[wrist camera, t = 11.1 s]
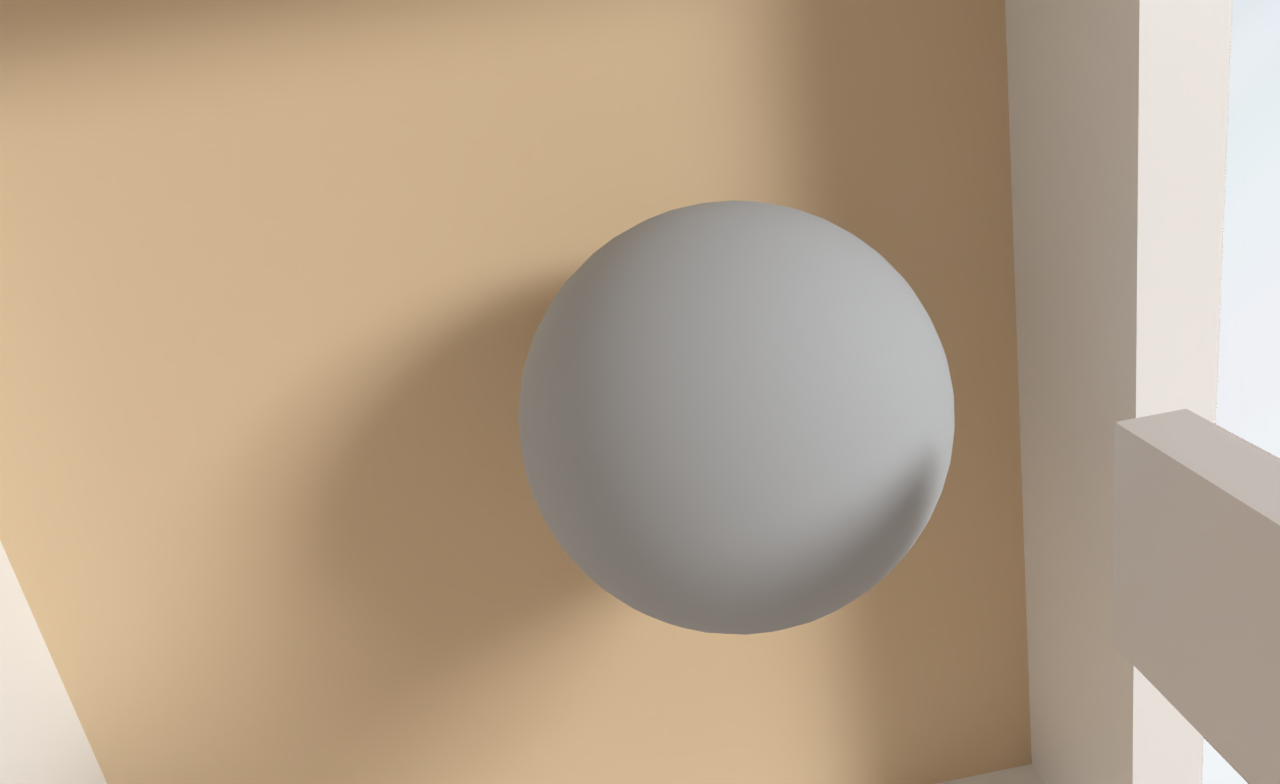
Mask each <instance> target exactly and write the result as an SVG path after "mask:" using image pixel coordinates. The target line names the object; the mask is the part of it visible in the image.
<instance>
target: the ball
mask: <svg viewBox="0 0 1280 784" xmlns="http://www.w3.org/2000/svg"><path fill="white" fill-rule="evenodd" d="M518 423H519V437H520V445H521V452H522V457H523V463H524V468H525V472H526V475H527V479H528V483H529V486H530V488H531V491H532V494H533V497H534V499H535V501H536V504H537V506H538V508H539V510H540V513H541V515H542V516H543V518H544V520H545V522H546V524H547V525H548V527H549V529H550V531H551V532H552V534H553V535H554V537H555V538H556V540H557V541H558V543H559V544H560V545H561V547H562V548H563V549H564V550H565V552H566V553H567V554H568V555H569V557H570V558H571V559H572V560H573V561H574V562H575V563H576V564H577V565H578V566H579V567H580V568H581V569H582V570H583V571H584V572H585V573H586V574H587V575H588V576H589V578H591V579H592V580H593V581H594V582H595V583H596V584H598V585H599V586H600V587H601V588H602V589H604V590H605V591H607V592H608V593H610V594H611V595H613V596H614V597H616V598H617V599H619V600H620V601H622V602H623V603H625V604H627V605H628V606H630V607H631V608H633V609H635V610H637V611H639V612H641V613H643V614H645V615H648V616H650V617H653V618H655V619H658V620H660V621H663V622H665V623H668V624H671V625H675V626H678V627H682V628H686V629H691V630H696V631H701V632H706V633H719V634H741V635H748V634H757V633H766V632H774V631H779V630H783V629H787V628H791V627H795V626H799V625H802V624H806V623H810V622H812V621H815V620H817V619H819V618H822V617H824V616H826V615H828V614H831V613H833V612H835V611H837V610H839V609H840V608H842V607H844V606H845V605H847V604H849V603H850V602H852V601H853V600H855V599H857V598H858V597H860V596H861V595H863V594H865V593H866V592H868V591H869V590H870V589H872V588H873V587H874V586H875V585H876V584H877V583H879V582H880V581H881V580H882V579H883V578H884V577H886V576H887V575H888V574H889V573H890V572H891V571H892V570H893V569H894V567H895V566H896V565H897V564H898V563H899V562H900V561H901V559H902V558H903V557H904V556H905V555H906V554H907V553H908V551H909V550H910V549H911V548H912V546H913V545H914V544H915V542H916V541H917V539H918V537H919V536H920V534H921V533H922V531H923V530H924V528H925V526H926V525H927V523H928V522H929V520H930V518H931V515H932V513H933V511H934V509H935V506H936V504H937V502H938V500H939V497H940V495H941V493H942V490H943V487H944V483H945V480H946V476H947V473H948V469H949V465H950V462H951V454H952V446H953V438H954V430H955V419H954V394H953V387H952V382H951V377H950V372H949V367H948V362H947V358H946V355H945V352H944V349H943V346H942V344H941V341H940V339H939V337H938V334H937V332H936V330H935V327H934V325H933V323H932V321H931V319H930V317H929V315H928V313H927V312H926V310H925V308H924V307H923V305H922V303H921V302H920V300H919V299H918V297H917V296H916V294H915V293H914V291H913V290H912V288H911V287H910V285H909V284H908V283H907V282H906V280H905V279H904V278H903V277H902V276H901V275H900V274H899V273H898V272H897V271H896V270H895V269H894V268H893V267H892V266H891V265H890V264H889V263H888V262H887V260H886V259H885V258H884V257H883V256H881V255H880V254H879V253H878V252H877V251H875V250H874V249H873V248H871V247H870V246H869V245H867V244H866V243H865V242H863V241H862V240H860V239H859V238H858V237H856V236H855V235H853V234H852V233H850V232H848V231H846V230H845V229H843V228H841V227H839V226H837V225H835V224H833V223H831V222H829V221H827V220H825V219H823V218H821V217H818V216H815V215H812V214H809V213H807V212H804V211H801V210H798V209H795V208H790V207H785V206H780V205H775V204H770V203H765V202H754V201H737V200H732V201H720V202H708V203H701V204H696V205H691V206H687V207H683V208H678V209H674V210H670V211H668V212H665V213H662V214H660V215H657V216H655V217H652V218H649V219H647V220H645V221H643V222H641V223H639V224H637V225H636V226H634V227H632V228H630V229H629V230H627V231H625V232H623V233H621V234H620V235H618V236H616V237H614V238H613V239H611V240H610V241H609V242H608V243H606V244H605V245H604V246H602V247H601V248H600V249H598V250H597V251H596V252H595V253H593V254H592V255H591V256H590V257H589V258H588V259H587V260H586V261H585V262H584V263H583V264H582V265H581V267H580V268H579V269H578V270H577V271H576V272H575V273H574V274H573V275H572V276H571V277H570V278H569V279H568V280H567V281H566V282H565V284H564V285H563V287H562V288H561V289H560V291H559V292H558V294H557V295H556V296H555V298H554V299H553V301H552V302H551V304H550V306H549V308H548V309H547V311H546V313H545V315H544V317H543V319H542V321H541V323H540V325H539V327H538V329H537V331H536V333H535V335H534V338H533V341H532V344H531V347H530V350H529V353H528V356H527V360H526V363H525V366H524V370H523V376H522V382H521V389H520V398H519V414H518Z"/></svg>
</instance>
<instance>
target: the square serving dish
mask: <svg viewBox="0 0 1280 784" xmlns="http://www.w3.org/2000/svg"><path fill="white" fill-rule="evenodd" d="M1231 25H1232V0H0V784H1202V764H1203V739H1204V737H1203V736H1202V735H1201V734H1200V733H1199V732H1198V731H1197V730H1196V729H1195V728H1194V727H1193V726H1192V725H1191V724H1190V723H1189V722H1188V721H1187V720H1186V719H1185V718H1184V717H1183V716H1182V715H1181V714H1180V713H1179V712H1178V711H1177V710H1176V708H1175V707H1174V706H1173V705H1172V704H1171V703H1170V702H1169V701H1168V700H1167V699H1166V698H1165V697H1164V696H1163V695H1162V694H1161V693H1160V692H1159V691H1158V690H1157V689H1156V688H1155V687H1154V686H1153V685H1152V684H1151V683H1150V682H1149V681H1148V680H1147V679H1146V678H1145V677H1144V676H1143V674H1142V673H1141V672H1140V671H1139V670H1138V669H1137V668H1136V667H1135V666H1134V665H1133V664H1132V663H1131V662H1130V661H1129V660H1128V659H1127V658H1126V657H1125V656H1124V655H1123V654H1122V653H1121V652H1120V651H1119V650H1118V649H1117V648H1116V647H1115V646H1114V645H1113V644H1112V610H1113V531H1114V453H1115V422H1118V421H1123V420H1128V419H1134V418H1139V417H1144V416H1150V415H1155V414H1160V413H1166V412H1171V411H1176V410H1182V409H1188V410H1190V411H1191V412H1193V413H1195V414H1197V415H1199V416H1201V417H1203V418H1205V419H1206V420H1208V421H1210V422H1212V423H1214V424H1216V408H1217V382H1218V357H1219V331H1220V306H1221V280H1222V255H1223V229H1224V204H1225V178H1226V153H1227V127H1228V102H1229V76H1230V51H1231ZM732 200H737V201H754V202H765V203H770V204H775V205H780V206H785V207H790V208H795V209H798V210H801V211H804V212H807V213H809V214H812V215H815V216H818V217H821V218H823V219H825V220H827V221H829V222H831V223H833V224H835V225H837V226H839V227H841V228H843V229H845V230H846V231H848V232H850V233H852V234H853V235H855V236H856V237H858V238H859V239H860V240H862V241H863V242H865V243H866V244H867V245H869V246H870V247H871V248H873V249H874V250H875V251H877V252H878V253H879V254H880V255H881V256H883V257H884V258H885V259H886V260H887V262H888V263H889V264H890V265H891V266H892V267H893V268H894V269H895V270H896V271H897V272H898V273H899V274H900V275H901V276H902V277H903V278H904V279H905V280H906V282H907V283H908V284H909V285H910V287H911V288H912V290H913V291H914V293H915V294H916V296H917V297H918V299H919V300H920V302H921V303H922V305H923V307H924V308H925V310H926V312H927V313H928V315H929V317H930V319H931V321H932V323H933V325H934V327H935V330H936V332H937V334H938V337H939V339H940V341H941V344H942V346H943V349H944V352H945V355H946V358H947V362H948V367H949V372H950V377H951V382H952V387H953V394H954V419H955V430H954V438H953V446H952V454H951V462H950V465H949V469H948V473H947V476H946V480H945V483H944V487H943V490H942V493H941V495H940V497H939V500H938V502H937V504H936V506H935V509H934V511H933V513H932V515H931V518H930V520H929V522H928V523H927V525H926V526H925V528H924V530H923V531H922V533H921V534H920V536H919V537H918V539H917V541H916V542H915V544H914V545H913V546H912V548H911V549H910V550H909V551H908V553H907V554H906V555H905V556H904V557H903V558H902V559H901V561H900V562H899V563H898V564H897V565H896V566H895V567H894V569H893V570H892V571H891V572H890V573H889V574H888V575H887V576H886V577H884V578H883V579H882V580H881V581H880V582H879V583H877V584H876V585H875V586H874V587H873V588H872V589H870V590H869V591H868V592H866V593H865V594H863V595H861V596H860V597H858V598H857V599H855V600H853V601H852V602H850V603H849V604H847V605H845V606H844V607H842V608H840V609H839V610H837V611H835V612H833V613H831V614H828V615H826V616H824V617H822V618H819V619H817V620H815V621H812V622H810V623H806V624H802V625H799V626H795V627H791V628H787V629H783V630H779V631H774V632H766V633H757V634H748V635H741V634H719V633H706V632H701V631H696V630H691V629H686V628H682V627H678V626H675V625H671V624H668V623H665V622H663V621H660V620H658V619H655V618H653V617H650V616H648V615H645V614H643V613H641V612H639V611H637V610H635V609H633V608H631V607H630V606H628V605H627V604H625V603H623V602H622V601H620V600H619V599H617V598H616V597H614V596H613V595H611V594H610V593H608V592H607V591H605V590H604V589H602V588H601V587H600V586H599V585H598V584H596V583H595V582H594V581H593V580H592V579H591V578H589V576H588V575H587V574H586V573H585V572H584V571H583V570H582V569H581V568H580V567H579V566H578V565H577V564H576V563H575V562H574V561H573V560H572V559H571V558H570V557H569V555H568V554H567V553H566V552H565V550H564V549H563V548H562V547H561V545H560V544H559V543H558V541H557V540H556V538H555V537H554V535H553V534H552V532H551V531H550V529H549V527H548V525H547V524H546V522H545V520H544V518H543V516H542V515H541V513H540V510H539V508H538V506H537V504H536V501H535V499H534V497H533V494H532V491H531V488H530V486H529V483H528V479H527V475H526V472H525V468H524V463H523V457H522V452H521V445H520V437H519V423H518V414H519V398H520V389H521V382H522V376H523V370H524V366H525V363H526V360H527V356H528V353H529V350H530V347H531V344H532V341H533V338H534V335H535V333H536V331H537V329H538V327H539V325H540V323H541V321H542V319H543V317H544V315H545V313H546V311H547V309H548V308H549V306H550V304H551V302H552V301H553V299H554V298H555V296H556V295H557V294H558V292H559V291H560V289H561V288H562V287H563V285H564V284H565V282H566V281H567V280H568V279H569V278H570V277H571V276H572V275H573V274H574V273H575V272H576V271H577V270H578V269H579V268H580V267H581V265H582V264H583V263H584V262H585V261H586V260H587V259H588V258H589V257H590V256H591V255H592V254H593V253H595V252H596V251H597V250H598V249H600V248H601V247H602V246H604V245H605V244H606V243H608V242H609V241H610V240H611V239H613V238H614V237H616V236H618V235H620V234H621V233H623V232H625V231H627V230H629V229H630V228H632V227H634V226H636V225H637V224H639V223H641V222H643V221H645V220H647V219H649V218H652V217H655V216H657V215H660V214H662V213H665V212H668V211H670V210H674V209H678V208H683V207H687V206H691V205H696V204H701V203H708V202H720V201H732Z"/></svg>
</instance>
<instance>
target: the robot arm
mask: <svg viewBox="0 0 1280 784" xmlns="http://www.w3.org/2000/svg"><path fill="white" fill-rule="evenodd" d="M1112 644H1113V645H1114V646H1115V647H1116V648H1117V649H1118V650H1119V651H1120V652H1121V653H1122V654H1123V655H1124V656H1125V657H1126V658H1127V659H1128V660H1129V661H1130V662H1131V663H1132V664H1133V665H1134V666H1135V667H1136V668H1137V669H1138V670H1139V671H1140V672H1141V673H1142V674H1143V676H1144V677H1145V678H1146V679H1147V680H1148V681H1149V682H1150V683H1151V684H1152V685H1153V686H1154V687H1155V688H1156V689H1157V690H1158V691H1159V692H1160V693H1161V694H1162V695H1163V696H1164V697H1165V698H1166V699H1167V700H1168V701H1169V702H1170V703H1171V704H1172V705H1173V706H1174V707H1175V708H1176V710H1177V711H1178V712H1179V713H1180V714H1181V715H1182V716H1183V717H1184V718H1185V719H1186V720H1187V721H1188V722H1189V723H1190V724H1191V725H1192V726H1193V727H1194V728H1195V729H1196V730H1197V731H1198V732H1199V733H1200V734H1201V735H1202V736H1203V737H1204V738H1205V739H1206V740H1207V741H1208V742H1209V744H1210V745H1211V746H1212V747H1213V748H1214V749H1215V750H1216V751H1217V752H1218V753H1219V754H1220V755H1221V756H1222V757H1223V758H1224V759H1225V760H1226V761H1227V762H1228V763H1229V764H1230V765H1231V766H1232V767H1233V768H1234V769H1235V770H1236V771H1237V772H1238V773H1239V774H1240V775H1241V777H1242V778H1243V779H1244V780H1245V781H1246V782H1247V783H1248V784H1280V459H1279V458H1277V457H1276V456H1274V455H1272V454H1270V453H1268V452H1266V451H1264V450H1263V449H1261V448H1259V447H1257V446H1255V445H1253V444H1251V443H1249V442H1248V441H1246V440H1244V439H1242V438H1240V437H1238V436H1236V435H1234V434H1233V433H1231V432H1229V431H1227V430H1225V429H1223V428H1221V427H1220V426H1218V425H1216V424H1214V423H1212V422H1210V421H1208V420H1206V419H1205V418H1203V417H1201V416H1199V415H1197V414H1195V413H1193V412H1191V411H1190V410H1188V409H1182V410H1176V411H1171V412H1166V413H1160V414H1155V415H1150V416H1144V417H1139V418H1134V419H1128V420H1123V421H1118V422H1115V453H1114V531H1113V610H1112Z"/></svg>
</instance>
